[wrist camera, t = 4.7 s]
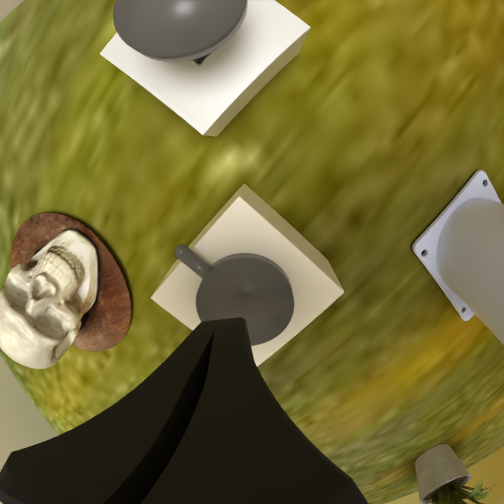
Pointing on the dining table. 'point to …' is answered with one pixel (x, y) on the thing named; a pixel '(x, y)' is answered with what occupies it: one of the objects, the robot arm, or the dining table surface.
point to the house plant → (444, 478)
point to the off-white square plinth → (262, 243)
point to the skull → (60, 293)
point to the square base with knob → (219, 67)
